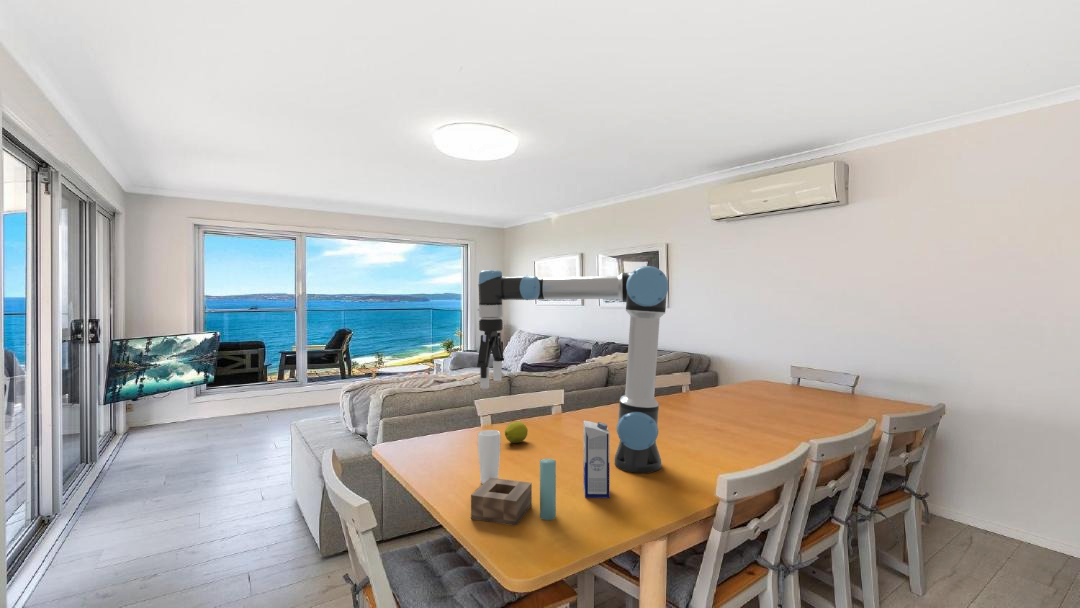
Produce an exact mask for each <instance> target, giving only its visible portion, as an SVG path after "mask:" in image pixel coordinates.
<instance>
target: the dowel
mask: <svg viewBox="0 0 1080 608" xmlns="http://www.w3.org/2000/svg"><path fill="white" fill-rule="evenodd" d="M556 464H557V463H556V460H555V459H553V458H543V459H540V461H539V517H540V519H541V520H543V521H553V520H555V519H556V518H557V513H556V512H557V509H556V508H557V503H556V501H557V498H556V497H557V496H556V495H557V494H556V493H557V489H556V488H557V487H556V486H557V482H556V481H557V479H556V478H557V476H556V475H557V473H556V472H557V469H556V467H557V465H556Z"/></svg>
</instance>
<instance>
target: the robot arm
mask: <svg viewBox="0 0 1080 608" xmlns="http://www.w3.org/2000/svg"><path fill="white" fill-rule="evenodd" d="M477 285H478V307H477V311H478V316H479V318H480V319H479V320H478V330H479V331H480V332H484V334H480V344H479V350H478V358H477V362H476V363H477V364H476V367H477V368H479V385H480V386H479V387H480V389H487V390H488V389H490V366H489V363H490V359H491V355H492V357H493V361H492V366H493V367H492V368H493V369H492V370H493V371H492V373H493V374H492V379H493V382H495V381H496V382H502V380H503V378H502V377H503V375H502V374H503V371H502V370H503V369H502V365H503V364H502V362H504V361H505V357H504V351H503V345H502V344H503V343H502V337H501V335H502V334H501V332H500V331H503V330H504V329H503V326H504V325H503V319H502V318H503V314H504V313H503V301H509V300H510V301H524V300H525V301H536V300H539V301H540V300H615V299H616V300H619V301H621V302H622V303H625V311H626V313H627V314H628V315H629V317H630V320H629V332H628V333H629V334H628V346H627V348H628V349H627V359H626V361H627V363H626V375H625V376H626V377H625V378H626V379H625V390H624V391H625V392H624V393H625V394H624V395H622V396H620V398H619V404H618V418H617V419H618V420H617V425H616V433H617V436H618V439H619V443H618V445H617V449H616V452H615V454H614V466H616V468H618V469H619V470H622V471H625V472H628V473H629V472H630V473H635V474H651V473H655V472H657V471H659V470H661V469H662V458H661V456H660V451H659V449H658V446H657V442H656V441H657V438H658V436H659V428H658V423H659V422H658V421H659V420H658V419H659V407H660V406H659V405H660V404H659V402H658V401H657V400H656V398H655V393H656V392H655V389H656V377H657V376H656V375H657V361H658V359H657V358H658V346H659V332H660V320H661V319H660V318H662V316H663V315H665V314H666V308H667V296H668V292H669V280H668V277H667V276H666V274H665V273H664V272H663V271H662V270H661V269H660V268H658V267H655V266H652V265H651V266H650V265H644V266H639V267H636V268H635V269H634V270H633V271H631V272H621V273H619V275H607V276H605V275H604V276H602V275H598V276H595V275H594V276H559V277H557V276H556V277H554V276H553V277H552V276H551V277H548V276H547V277H537V276H534V275H521V276H519V275H517V276H505V275H503V272H502V271H501V270H494V269H493V270H485V269H484V270H481V271H480V272H479V275H478V284H477Z"/></svg>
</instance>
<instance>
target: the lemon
mask: <svg viewBox="0 0 1080 608" xmlns="http://www.w3.org/2000/svg"><path fill="white" fill-rule="evenodd" d="M528 430H529V429H528V427H527V425H526V424H525V423H524V422H522V421H512V422H511V423H509V424H508V425H507V426H506V428H505V429H504V437H505V438H506V440H507V441H509V442H510V443H512V444H519V443H522V442H524V440H525V439H526V438H527V436H528Z"/></svg>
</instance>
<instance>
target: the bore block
mask: <svg viewBox="0 0 1080 608" xmlns="http://www.w3.org/2000/svg"><path fill="white" fill-rule="evenodd" d="M532 486H533V485H532V482H527V481H519V480H512V479H511V480H510V479H504V478H498V479H496V478H489V479H488V480H487V481H486V482H485V483H484V484H481V485H479V487H478V488H477V489H476V490H475V491H474V492H473V493H472V494H471V495H470V519H471V520H477V521H481V522H482V521H483V522H490V523H497V524H502V525H510V526H515V527H516V526H518V524H519V523H520V521H521V520H522V519H523V518H524V516H525V514H526V513H527V512H529V511H528V510H530V509H531V507H532V504H533V503H532V501H533V500H532V498H533V497H532V495H533V494H532V491H533V490H532V489H533V488H532Z"/></svg>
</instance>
